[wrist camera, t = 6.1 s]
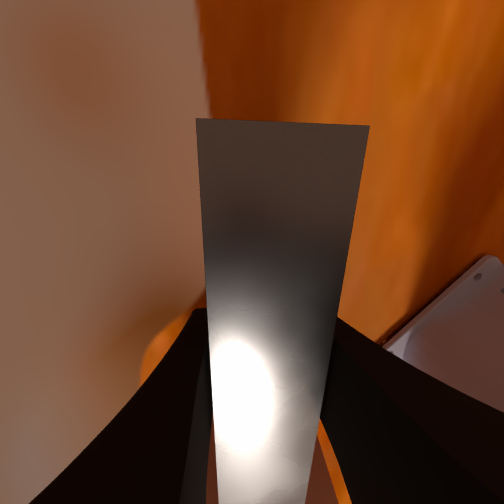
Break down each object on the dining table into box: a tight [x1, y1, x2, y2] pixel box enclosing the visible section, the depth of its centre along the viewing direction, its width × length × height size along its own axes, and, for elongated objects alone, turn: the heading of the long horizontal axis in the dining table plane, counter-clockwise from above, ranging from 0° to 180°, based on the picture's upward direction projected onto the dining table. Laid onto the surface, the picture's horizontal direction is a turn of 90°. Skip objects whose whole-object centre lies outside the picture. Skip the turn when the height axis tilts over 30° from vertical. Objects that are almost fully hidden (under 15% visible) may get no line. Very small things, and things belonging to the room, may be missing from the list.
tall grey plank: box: [196, 118, 370, 504], centre depth 8 cm, size 12×3×5 cm, turn 179°
